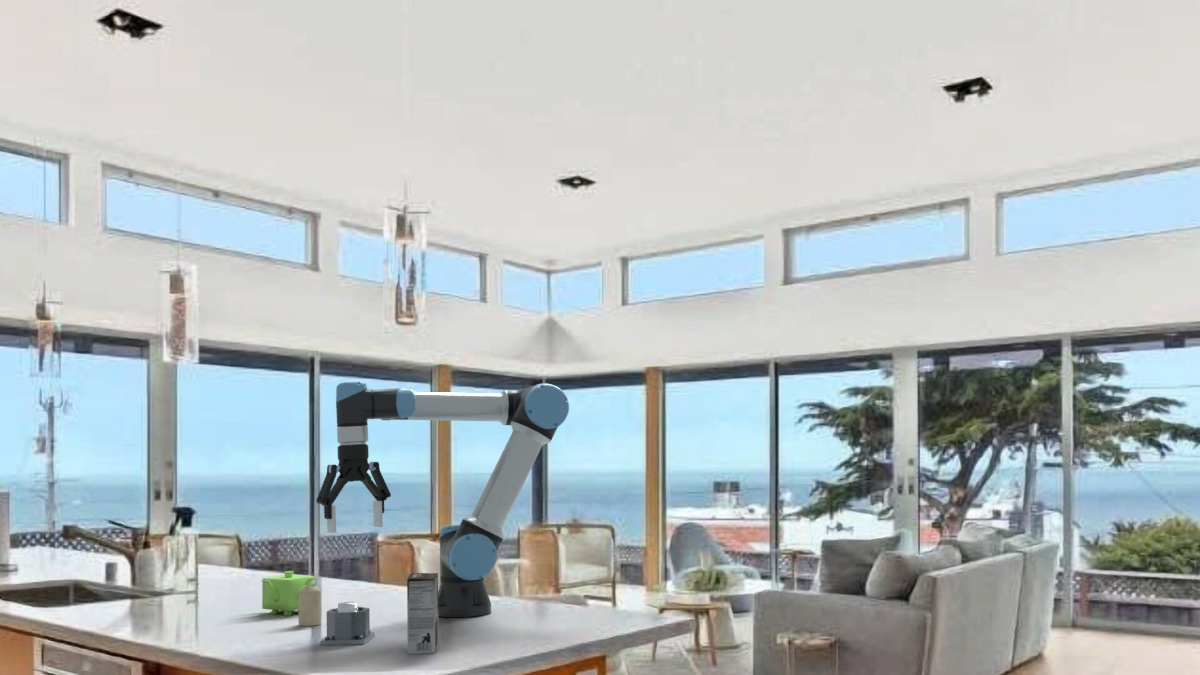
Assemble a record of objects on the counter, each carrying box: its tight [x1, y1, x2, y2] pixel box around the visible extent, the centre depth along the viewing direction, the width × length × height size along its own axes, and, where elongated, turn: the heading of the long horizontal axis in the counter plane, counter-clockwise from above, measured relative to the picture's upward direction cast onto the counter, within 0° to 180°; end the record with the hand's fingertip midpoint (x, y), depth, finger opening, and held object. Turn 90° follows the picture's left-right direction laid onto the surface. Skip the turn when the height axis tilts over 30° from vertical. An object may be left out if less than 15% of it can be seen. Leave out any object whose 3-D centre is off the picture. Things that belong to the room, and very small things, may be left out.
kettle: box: [260, 570, 316, 617], centre depth 296 cm, size 15×14×11 cm
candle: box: [298, 584, 322, 627], centre depth 275 cm, size 6×6×10 cm
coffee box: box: [406, 572, 440, 655], centre depth 238 cm, size 9×6×16 cm
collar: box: [326, 606, 371, 640], centre depth 251 cm, size 10×9×6 cm
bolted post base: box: [319, 601, 375, 646], centre depth 251 cm, size 10×10×8 cm
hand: (355, 529), depth 268 cm, fingers open, 13 cm apart
